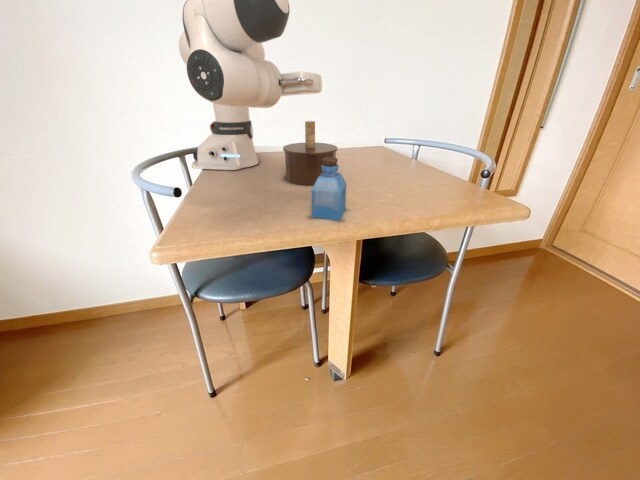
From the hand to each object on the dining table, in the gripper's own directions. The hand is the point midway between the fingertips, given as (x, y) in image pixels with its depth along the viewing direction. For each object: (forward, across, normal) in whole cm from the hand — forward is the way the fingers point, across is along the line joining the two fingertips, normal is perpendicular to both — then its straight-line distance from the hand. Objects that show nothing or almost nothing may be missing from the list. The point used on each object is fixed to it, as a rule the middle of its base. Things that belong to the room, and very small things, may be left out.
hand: (292, 89), depth 72 cm
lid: (+10, +1, +15) cm, 18 cm away
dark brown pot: (+10, +2, +23) cm, 26 cm away
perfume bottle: (-13, -14, +27) cm, 33 cm away
